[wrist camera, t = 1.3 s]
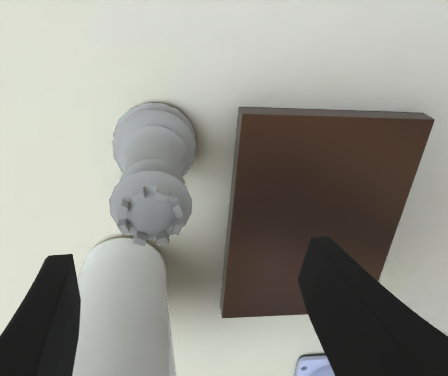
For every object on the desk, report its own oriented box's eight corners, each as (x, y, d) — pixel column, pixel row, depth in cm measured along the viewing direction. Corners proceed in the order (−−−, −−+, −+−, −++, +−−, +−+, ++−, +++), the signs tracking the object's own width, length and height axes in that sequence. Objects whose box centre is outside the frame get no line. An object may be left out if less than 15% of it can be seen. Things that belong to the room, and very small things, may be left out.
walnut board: (361, 299, 30) (367, 311, 29) (219, 305, 29) (221, 318, 28) (423, 112, 23) (435, 119, 22) (238, 106, 22) (242, 113, 21)
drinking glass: (48, 266, 25) (-77, 587, 12) (123, 204, 24) (71, 495, 11) (126, 317, 28) (92, 617, 15) (197, 265, 27) (227, 549, 14)
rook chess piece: (166, 187, 23) (166, 281, 17) (98, 148, 22) (67, 235, 15) (211, 129, 22) (232, 206, 15) (142, 82, 20) (130, 144, 13)
